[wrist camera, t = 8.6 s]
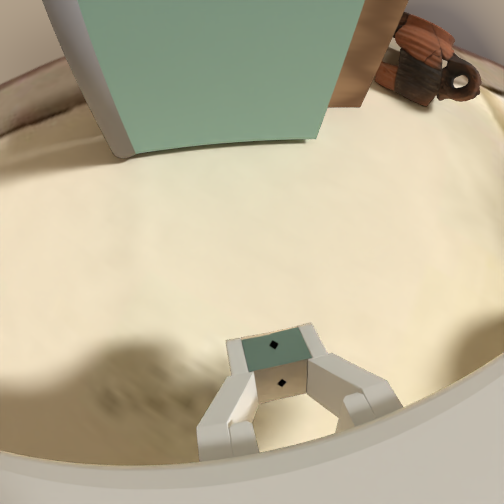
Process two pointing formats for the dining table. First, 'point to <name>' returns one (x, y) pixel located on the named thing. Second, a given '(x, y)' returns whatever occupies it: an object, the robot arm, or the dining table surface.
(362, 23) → the wooden board
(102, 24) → the teal square slab
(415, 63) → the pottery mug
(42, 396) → the dining table surface
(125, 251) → the dining table surface
